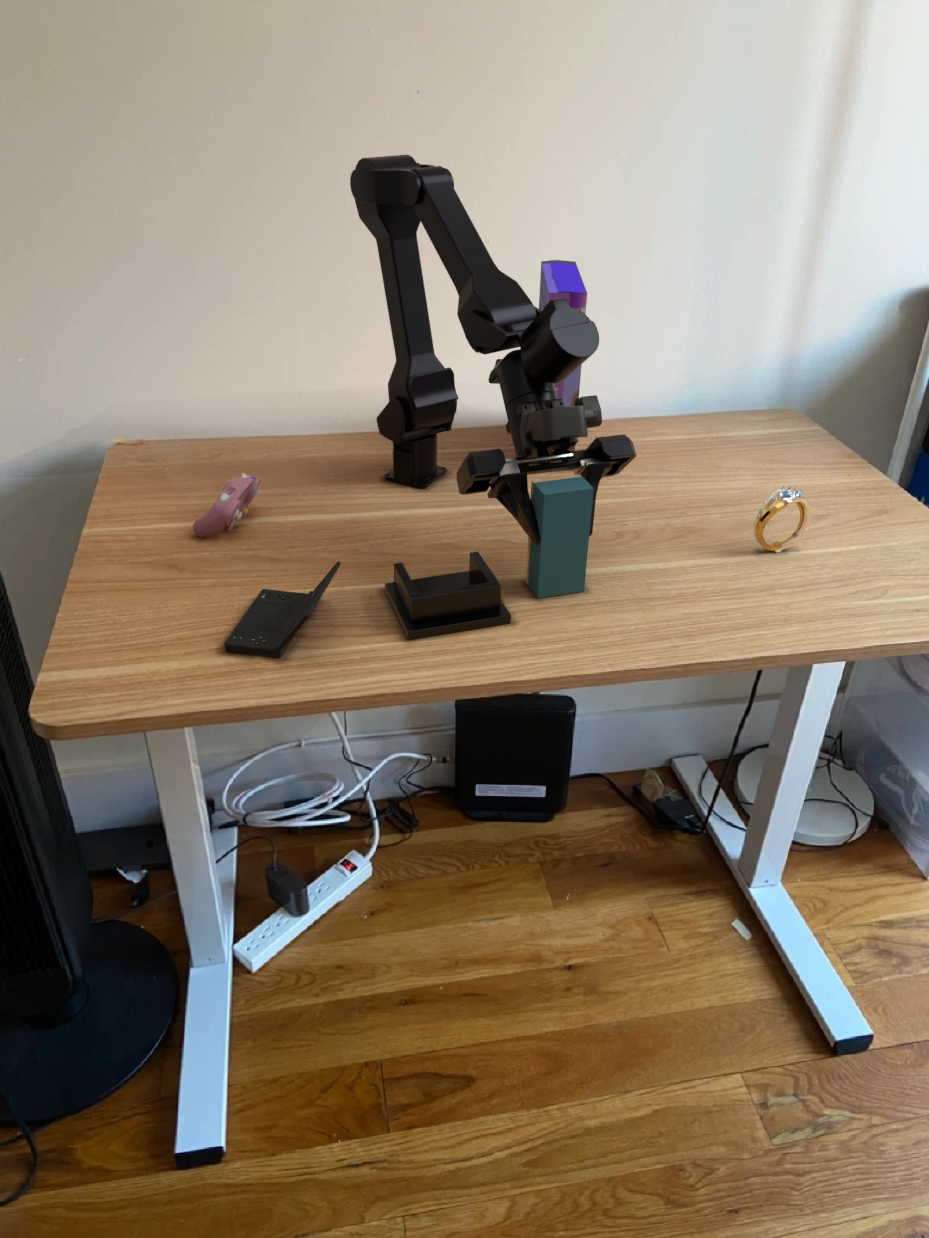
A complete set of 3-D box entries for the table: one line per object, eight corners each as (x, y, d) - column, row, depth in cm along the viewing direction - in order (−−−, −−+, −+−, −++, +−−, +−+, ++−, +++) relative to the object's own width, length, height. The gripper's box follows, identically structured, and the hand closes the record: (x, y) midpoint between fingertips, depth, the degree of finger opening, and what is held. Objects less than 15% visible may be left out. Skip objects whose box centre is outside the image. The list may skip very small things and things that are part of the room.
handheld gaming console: (241, 582, 101) (290, 523, 96) (298, 615, 104) (349, 559, 99) (217, 656, 93) (269, 596, 87) (280, 689, 96) (334, 633, 90)
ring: (795, 541, 114) (809, 480, 110) (809, 553, 112) (824, 491, 107) (743, 547, 113) (754, 486, 108) (756, 560, 110) (769, 498, 106)
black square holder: (384, 591, 104) (383, 559, 101) (480, 576, 106) (481, 545, 104) (408, 640, 96) (407, 606, 93) (510, 623, 98) (512, 590, 96)
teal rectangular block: (525, 582, 105) (531, 480, 99) (571, 575, 107) (579, 474, 100) (537, 598, 103) (544, 494, 96) (584, 591, 104) (593, 488, 97)
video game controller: (222, 553, 113) (240, 508, 109) (187, 534, 113) (205, 489, 109) (253, 516, 122) (272, 474, 118) (221, 499, 121) (239, 455, 117)
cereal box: (573, 469, 131) (587, 291, 118) (538, 468, 131) (549, 291, 118) (563, 423, 146) (575, 260, 133) (532, 422, 146) (541, 259, 133)
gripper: (465, 376, 93) (499, 527, 90) (638, 360, 98) (675, 503, 95) (443, 424, 103) (472, 560, 101) (599, 407, 108) (632, 537, 105)
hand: (563, 540), depth 100 cm, fingers closed on teal rectangular block, 5 cm apart
